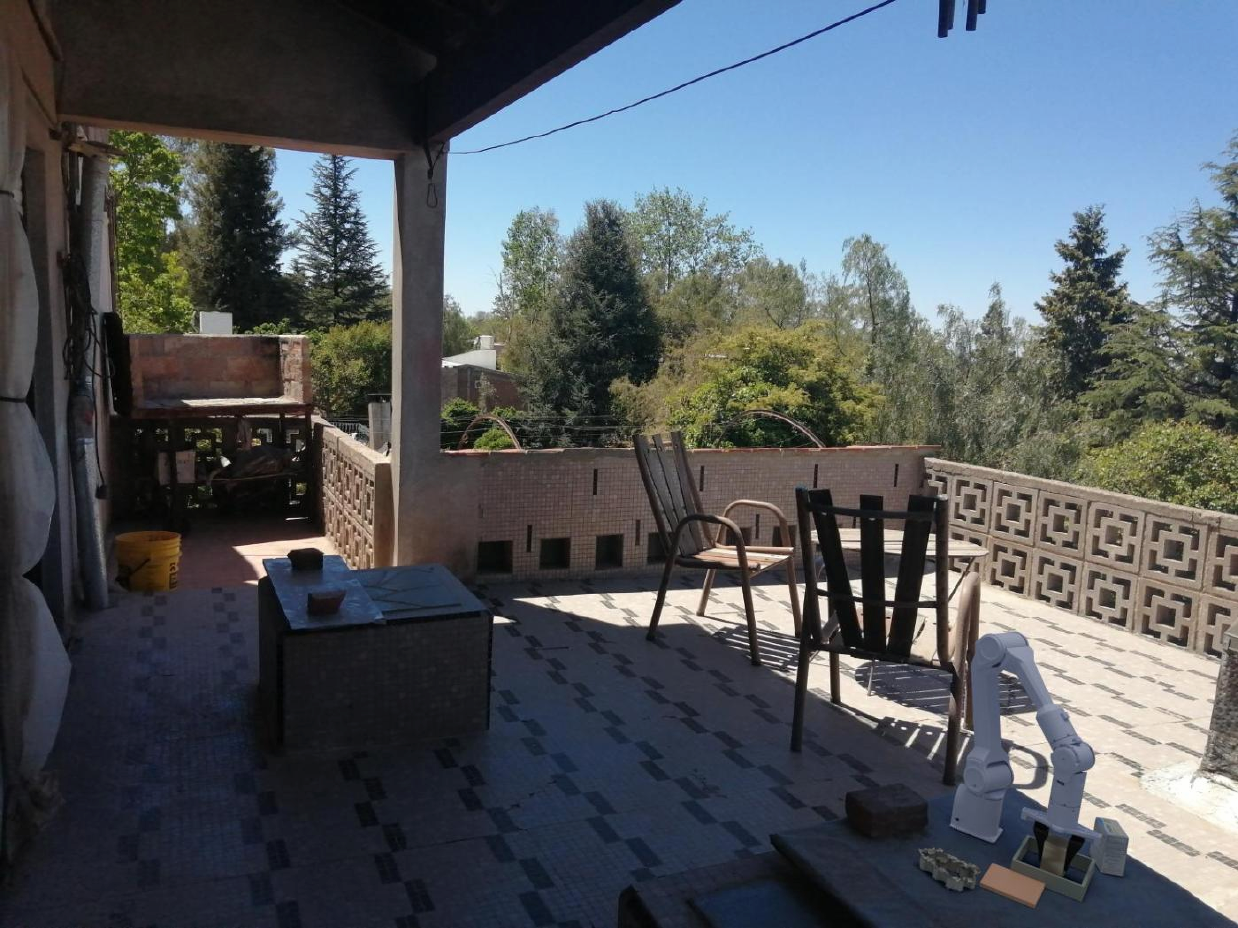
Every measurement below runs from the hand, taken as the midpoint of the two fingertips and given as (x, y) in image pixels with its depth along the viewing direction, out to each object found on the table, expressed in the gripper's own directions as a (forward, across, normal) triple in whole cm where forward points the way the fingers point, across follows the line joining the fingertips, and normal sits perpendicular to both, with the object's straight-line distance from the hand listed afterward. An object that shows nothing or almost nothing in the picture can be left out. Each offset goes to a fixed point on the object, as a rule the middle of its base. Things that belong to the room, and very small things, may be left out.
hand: (1053, 864), depth 186 cm
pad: (+2, -5, -12) cm, 13 cm away
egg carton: (+2, -16, -18) cm, 24 cm away
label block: (+2, 0, 0) cm, 2 cm away
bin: (+2, 0, 0) cm, 2 cm away
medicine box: (+2, +8, +13) cm, 15 cm away
